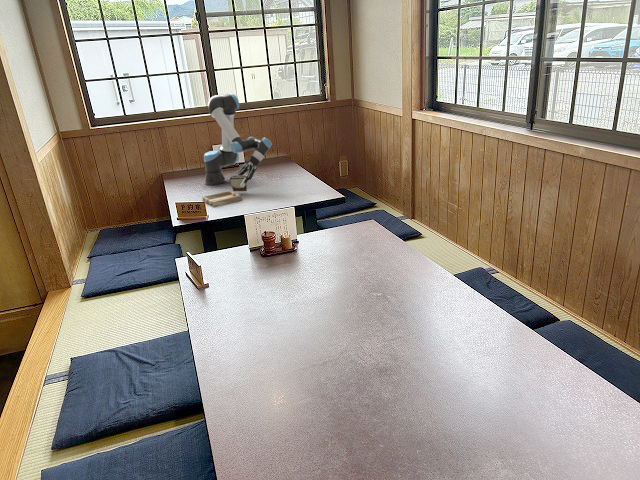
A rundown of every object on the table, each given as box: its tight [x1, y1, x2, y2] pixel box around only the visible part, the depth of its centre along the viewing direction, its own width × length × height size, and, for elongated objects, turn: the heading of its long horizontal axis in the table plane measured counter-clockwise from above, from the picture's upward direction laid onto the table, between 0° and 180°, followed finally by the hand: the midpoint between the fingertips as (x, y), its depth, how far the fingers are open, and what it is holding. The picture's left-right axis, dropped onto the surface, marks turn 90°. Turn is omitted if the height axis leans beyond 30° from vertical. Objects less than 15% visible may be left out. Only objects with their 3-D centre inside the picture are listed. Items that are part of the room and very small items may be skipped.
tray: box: [201, 190, 243, 208], centre depth 317 cm, size 18×20×3 cm
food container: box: [229, 174, 248, 193], centre depth 329 cm, size 12×6×10 cm, turn 86°
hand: (237, 185), depth 327 cm, fingers closed on food container, 10 cm apart
